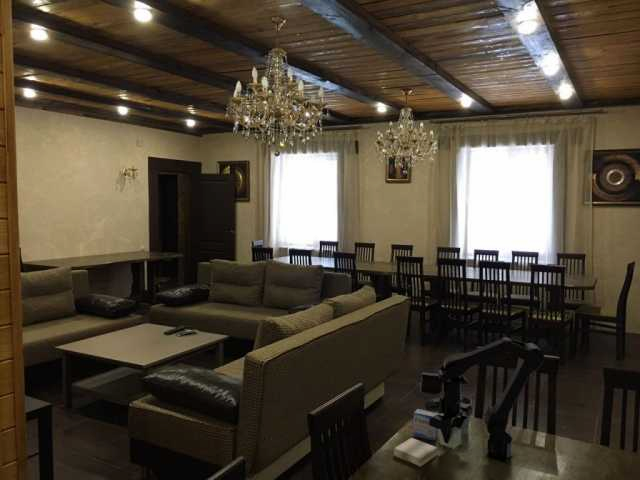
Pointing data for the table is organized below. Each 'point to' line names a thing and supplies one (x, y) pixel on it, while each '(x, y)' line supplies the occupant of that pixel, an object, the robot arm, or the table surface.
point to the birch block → (415, 451)
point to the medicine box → (424, 425)
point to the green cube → (452, 438)
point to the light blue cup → (466, 425)
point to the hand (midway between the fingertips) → (450, 440)
